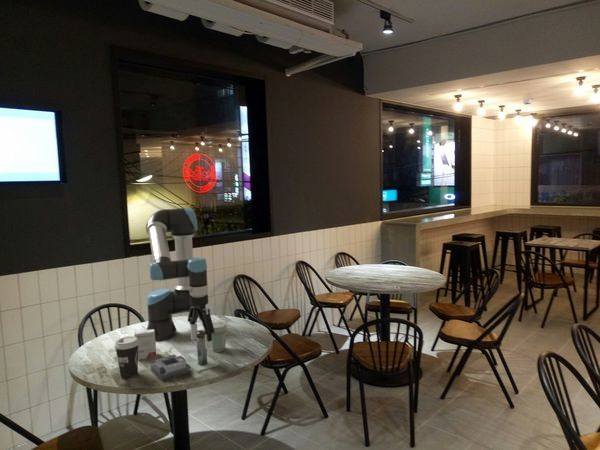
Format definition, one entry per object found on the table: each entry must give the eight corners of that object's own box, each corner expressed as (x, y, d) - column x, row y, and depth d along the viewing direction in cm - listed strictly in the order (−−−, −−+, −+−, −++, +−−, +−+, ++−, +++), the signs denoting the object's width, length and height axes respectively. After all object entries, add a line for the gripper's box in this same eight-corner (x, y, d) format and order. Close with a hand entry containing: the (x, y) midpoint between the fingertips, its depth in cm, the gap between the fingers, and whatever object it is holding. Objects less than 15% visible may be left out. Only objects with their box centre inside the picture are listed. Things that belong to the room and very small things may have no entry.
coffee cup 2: (224, 354, 193) (222, 328, 192) (206, 353, 195) (205, 327, 194) (230, 346, 202) (229, 322, 200) (213, 345, 203) (212, 321, 202)
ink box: (156, 353, 197) (154, 328, 196) (156, 357, 192) (154, 331, 191) (136, 355, 194) (134, 330, 193) (136, 360, 190) (134, 334, 188)
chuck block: (151, 371, 178) (150, 361, 177) (178, 363, 185) (178, 353, 185) (162, 381, 168) (161, 370, 168) (190, 372, 176) (190, 361, 175)
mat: (187, 364, 183) (186, 363, 183) (208, 358, 190) (208, 356, 189) (197, 372, 176) (197, 370, 176) (219, 365, 182) (218, 363, 182)
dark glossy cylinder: (196, 363, 183) (194, 331, 181) (205, 360, 185) (203, 329, 184) (200, 366, 180) (198, 334, 178) (209, 363, 182) (207, 332, 181)
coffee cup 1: (121, 370, 179) (118, 336, 178) (144, 369, 180) (142, 334, 179) (113, 381, 170) (110, 345, 168) (137, 379, 171) (135, 343, 169)
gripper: (178, 290, 187) (181, 337, 189) (204, 303, 167) (207, 355, 170) (194, 287, 191) (196, 332, 194) (221, 299, 172) (223, 349, 175)
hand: (201, 343), depth 182 cm, fingers open, 13 cm apart
